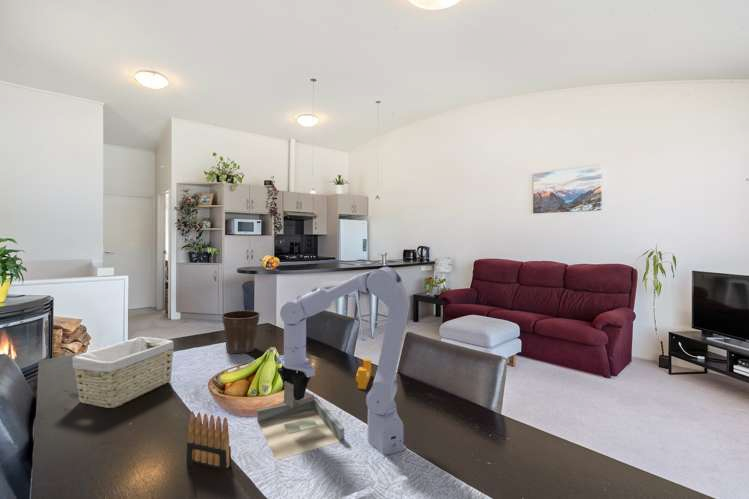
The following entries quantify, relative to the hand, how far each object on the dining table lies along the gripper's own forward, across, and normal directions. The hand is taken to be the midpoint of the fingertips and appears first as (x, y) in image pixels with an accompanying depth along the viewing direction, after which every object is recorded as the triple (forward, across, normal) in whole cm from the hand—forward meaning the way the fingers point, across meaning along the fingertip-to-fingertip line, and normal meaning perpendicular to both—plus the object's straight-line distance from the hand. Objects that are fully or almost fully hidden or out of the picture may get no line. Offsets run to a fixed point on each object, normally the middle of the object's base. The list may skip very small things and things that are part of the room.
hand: (294, 396), depth 98 cm
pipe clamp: (+10, +10, -36) cm, 38 cm away
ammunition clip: (+10, +1, +22) cm, 24 cm away
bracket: (+2, 0, -2) cm, 3 cm away
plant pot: (+10, +74, -23) cm, 78 cm away
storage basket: (+10, +58, +24) cm, 64 cm away
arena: (+9, -2, 0) cm, 9 cm away
